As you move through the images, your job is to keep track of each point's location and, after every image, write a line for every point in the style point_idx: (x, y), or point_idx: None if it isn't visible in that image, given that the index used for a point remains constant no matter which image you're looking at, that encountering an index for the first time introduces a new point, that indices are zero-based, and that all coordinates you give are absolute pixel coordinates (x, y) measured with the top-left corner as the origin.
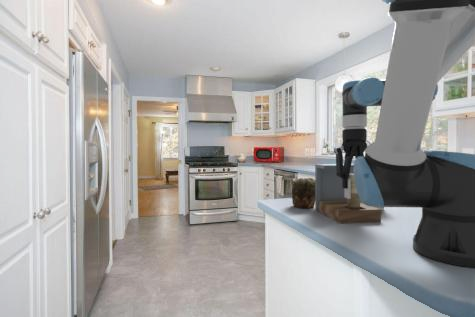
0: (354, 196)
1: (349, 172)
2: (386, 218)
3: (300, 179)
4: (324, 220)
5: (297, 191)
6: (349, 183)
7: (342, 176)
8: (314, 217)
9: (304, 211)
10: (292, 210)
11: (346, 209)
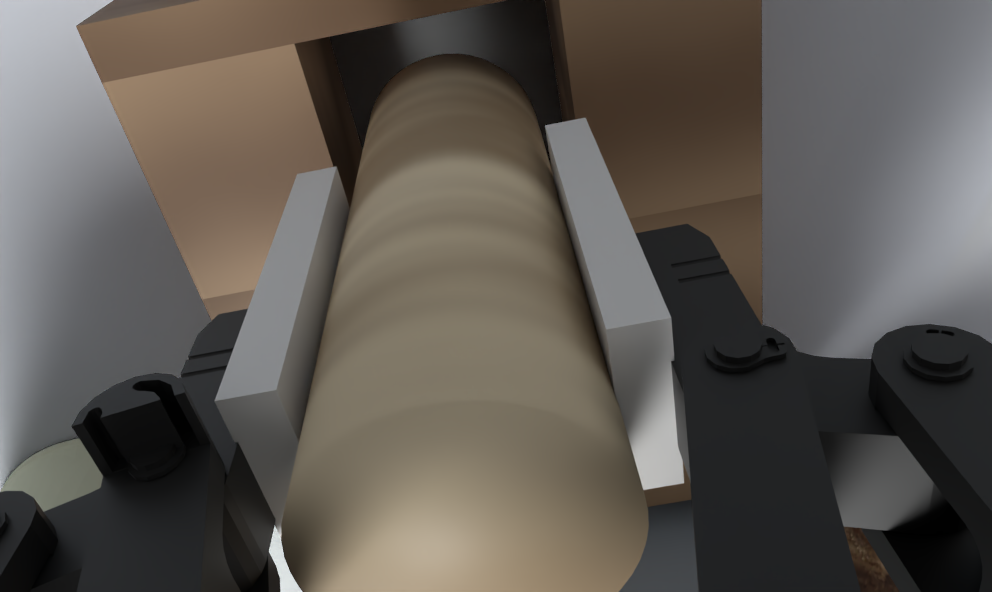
0: (481, 136)
1: (691, 479)
2: (35, 143)
3: None
4: (838, 15)
5: None
6: (621, 263)
7: (893, 349)
8: (892, 150)
9: None
10: None
11: (614, 6)
